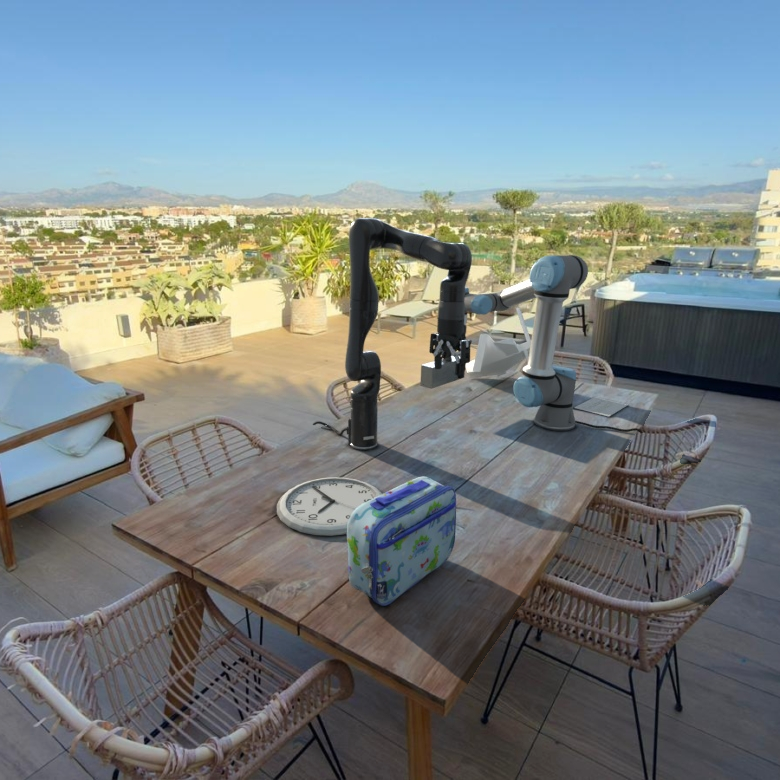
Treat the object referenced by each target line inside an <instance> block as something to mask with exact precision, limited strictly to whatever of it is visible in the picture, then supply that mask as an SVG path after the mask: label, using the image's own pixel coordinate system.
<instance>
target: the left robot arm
mask: <svg viewBox="0 0 780 780" xmlns="http://www.w3.org/2000/svg"><path fill="white" fill-rule="evenodd" d="M378 249H379V250H382V249H383V250H384V249H385V250H386V249H387V250H393V251H397V252H399V253H401V254H402V255H404V256H405V257H407V258H410V259H412V260H413V259H414V260H416V261H420V262H424V263H427V264H430V265H432V266H433V267H435V268H438V269H441V270H444V271H448V272H447V274H446V277H444V279H442V280H441V281H440V283H439V285H440V286H439V300H438V307H437V321H436V322H437V324H436V325H437V326H436V331H437V332H433V333H431V334H430V339H429V353H430V354H432V355H433V357H434V360H433V362H434V366H435V369H441V368H442V359H443V358H442V354H443V353H444V351H447V352H449V353H451V354H452V356H453V357H454V358H455V360H456V362H457V363H456V368H455V375H456V376H460V375H462V374H463V368H464V362H467V361H470V362H471V345H470V341H469V340H470V339H468V340H466V341H464V340H462V337H461V336H462V334H463V332H464V317H465V287H466V285H467V281H468V279H469V276H470V271H471V268H472V262H473V256H472V255H473V254H472V251H471V248H470V247H469V246H468V245H467V244H466V243H463V242H443V241H439V239H437V238H435V237H433V236H428V235H424V234H420V233H417V232H415V233H414V232H412V231H408V230H407V231H406V230H403V229H400V228H397V227H395V226H393V225H391V224H388V223H387V222H385V221H383V220H381V219H378V218H372V217H371V218H370V217H369V218H365V217H363V218H362V217H361V218H356V219H354V220H353V221H352V222H351V224H350V226H349V230H348V250H349V263H350V265H349V267H350V268H349V269H350V273H349V274H350V279H349V281H350V283H349V303H348V306H349V307H348V310H349V311H348V312H349V313H348V314H349V316H348V317H349V318H348V335H347V343H346V351H345V352H346V353H345V360H344V369H345V373H346V376H347V379H349V381H352V382H358V384H357V385H355V386H354V387H352V389H351V390H350V397H349V398H350V418H348V420H347V424H348V425H347V427H344V428H343V429H341V431H339V430H338V429H336V428H335V427H334V426H332V425H330V424H328V425H327V423H326V422H323V421H320V420H317V421H314V422H313V423H312V426H316V425H318V424H319V425H322V426H324V427H326V428H328V429H331V430H332V431H333V432H335V434H337V435H339V436H341V435H343V434H344V433H345V432H346V435H348V436H347V437H348V438H347V439H348V441H347V444H348V446H350V447H351V448H353V449H355V450H358V451H370V450H373V449H376V448H377V447H378V415H379V414H378V409H379V407H378V404H379V403H378V400H379V399H378V397H379V392H380V389H381V375H382V362H381V359H380V356H379V355H378V353H377V352H375V351H373V350H365V349H364V347H365V342H366V339H367V337H368V335H369V332H370V331H371V329H372V327H373V326H374V324H375V322H376V319H377V318H378V314H379V302H380V301H379V300H380V297H379V295H380V294H379V290H378V286H377V284H376V282H375V279H374V277H373V274H372V272H371V267H370V252H371V251H373V250H378ZM364 350H365V351H364ZM465 354H466V357H465ZM459 357H460V358H459ZM325 425H327V426H325Z"/></svg>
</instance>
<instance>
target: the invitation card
mask: <svg viewBox="0 0 780 780" xmlns="http://www.w3.org/2000/svg"><path fill="white" fill-rule="evenodd" d="M628 406H629V404H627V403H623V402H618V401H614V400H609V399H605V398H601V397H596V396H593V397H592V398H590V399H588V400H586V401H584V402H582V403H580V404H578V405H575V406H574V407H573V409H575V410H581V411H584V412H587V413H593V414H596V415H600V416H604V417H608V418H609V417H611V416H613V415H614V414H616V413H617V412H619V411H621V410H623V409H624V408H626V407H628Z"/></svg>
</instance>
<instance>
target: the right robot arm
mask: <svg viewBox="0 0 780 780" xmlns="http://www.w3.org/2000/svg"><path fill="white" fill-rule="evenodd" d="M588 275H589V267H588V265H587V262H586V261H585V260H584V258H582V257H580V256H578V255H575V254H568V255H567V254H566V255H565V254H563V255H561V254H560V255H559V254H556V255H555V254H554V255H552V254H551V255H546V256H542V257H541V258H539V259H537V260H536V261H535V262H534V263H533V264H532V267H531V269H530V272H529V279H527V280H524V281H522V282H520V283H517V284H515V285H512V286H510V287H507V288H504V289H503V290H500V291H497V292H491V293H489V292H488V293H470V288H469V287H467V286H465V317H464V332H463V334H462V336H461V337H462V340H464V341H466V340H469V341H470V346H471V345H472V343H473V342H472V339H468V338H467V336H466V334H467V327H468V326H467V323H468V313H471V314H475V315H482V316H483V315H484V316H485V315H487V314H489V313H492V312H503V311H507V310H509V309H511V308H512V307H514V306H517V305H519V304H523V303H526V302H528V301H531V300H535V299H537V300H536V307H535V314H534V320H533V325H532V326H533V327H532V333H531V338H530V339H531V346H530V353H529V359H528V363H527V364H526V365H525V366H523V367H522V370H521V376H519V377H518V378H517V379H516V380H515V381H514V383H513V394H514V397H515V398H516V400H517V401H518V403H519V404H520V405H522V406H523V407H526V408H538V410H537V411H536V413H535V417H534V424H535V425H536V426H537V427H539V428H542V429H544V430H549V431H556V432H567V431H572V430H574V429H575V428H576V424H578V425H582V426H586V427H589V428H595V429H608V430H613V431H618V432H624V433H628V432H629V433H630V432H635V431H636V432H638V433H640V434H643V431H642V429H640V428H637V427H633V428H625V429H624V428H618V427H614V426H609V425H595V424H591V423H588V422H587V423H586V422H582V421H579V420H576V418H575V417H576V416H575V413H574V407H573V405H574V398H575V390H576V383H577V372H576V371H575V369H572V368H571V367H570V368H569V367H566V366H561V365H554V364H553V363H554V358H555V352H556V346H557V342H558V341H557V340H558V334H559V328H560V323H561V317H562V310H563V304H564V302H565V301H566V300H568V299H569V296H570V290H573V289H576V288H579V287H581V286H582V285H583V284H584V283H585V282H586V280H587V278H588ZM441 356H442V359H444V358H448V357H451V356H452V354H451V353H449V352H447V351H444V353H443V354H442V355H441ZM465 357H466V354H465ZM469 362H471V360H470V361H467V362H464V368H463V374H462V375H460V376H459V377H458V378H459V380H462V379H464V378H463V376H464V377H465V375H464V371H465V372H466V363H469ZM461 378H462V379H461Z"/></svg>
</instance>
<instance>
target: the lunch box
mask: <svg viewBox="0 0 780 780" xmlns="http://www.w3.org/2000/svg"><path fill="white" fill-rule="evenodd" d="M456 524H457V494H456V490H455V488H454V487H453V486H451V485H444V484H441V483H440V482H438V481H436V480H434V479H432V478H431V477H428V476H422V475H421V476H419V477H416V478H413V479H411V480H408V481H407V482H404V483H402V484H400V485H398V486H396V487H394V488H392V489H390V490H388V491H386V492H383V494H381V495H380V496H378V497H376V498H374V499H372V500H370V501H368V502H365V503H363V504H362V505H360V506H358V507H357V508H356V509H355V510H354V511H353V513H352V514H351V516H350V518H349V521H348V525H347V534H346V545H347V546H346V548H347V570H348V572H347V573H348V581H349V583H350V585H351V587H353V588H354V589H356V590H358V591H361V592H362V593H364V594H365V595H366V596H368V597H369V598H371V599H372V601H373V602H374V603H375V604H378V605H379V606H383V607H386V606H388V605H390V604H392V603H394V601H396V600H397V599H398V598H399V597H400V596H402V595H403V594H404V593H406V592H407V591H408V590H410V589H411V588H413V587H414V586H415V585H417V584H418V583H419V582H421V580H422V579H424V577H426V576H427V575H430V573H432V572H434V571H435V570H436V569H438V568H440V567H441V566H442V565H444V563H446V562H447V561H448V559H449V558H450V556H451V554H452V552H453V549H454V546H455V542H456V529H457V525H456Z"/></svg>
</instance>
